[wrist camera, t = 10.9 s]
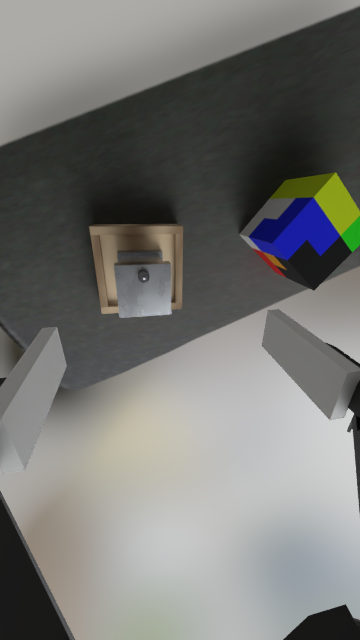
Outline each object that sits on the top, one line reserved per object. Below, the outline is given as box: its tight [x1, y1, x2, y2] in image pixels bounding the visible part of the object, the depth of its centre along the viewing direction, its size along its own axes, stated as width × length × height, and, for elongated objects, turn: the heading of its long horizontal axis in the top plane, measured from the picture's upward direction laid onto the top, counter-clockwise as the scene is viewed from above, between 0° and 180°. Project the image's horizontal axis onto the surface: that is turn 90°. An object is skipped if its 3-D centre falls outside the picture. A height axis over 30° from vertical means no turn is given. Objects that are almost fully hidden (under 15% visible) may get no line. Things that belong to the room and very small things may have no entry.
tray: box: [89, 224, 183, 314], centre depth 36 cm, size 12×12×4 cm
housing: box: [114, 250, 171, 318], centre depth 31 cm, size 6×6×10 cm
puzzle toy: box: [239, 172, 360, 290], centre depth 35 cm, size 10×10×10 cm
